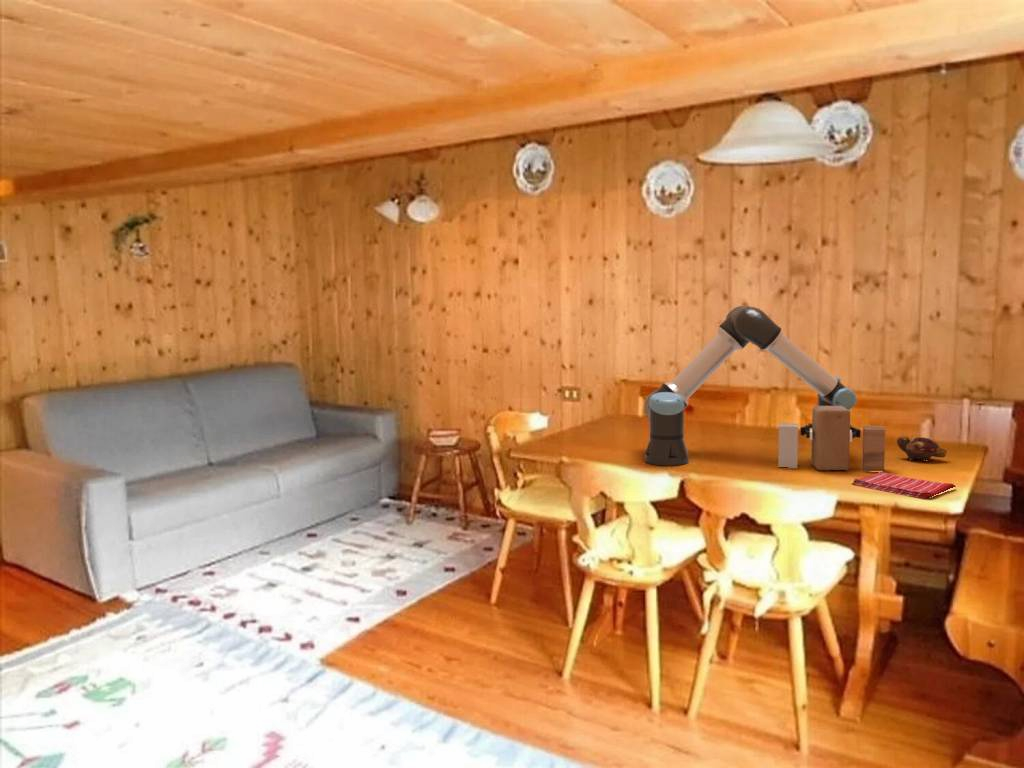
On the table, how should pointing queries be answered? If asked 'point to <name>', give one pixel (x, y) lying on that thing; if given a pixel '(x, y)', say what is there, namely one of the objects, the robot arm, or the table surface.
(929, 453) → the decorative turtle
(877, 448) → the walnut block
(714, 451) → the table surface
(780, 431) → the grey painted block
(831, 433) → the wooden block
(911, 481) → the dish towel
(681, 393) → the robot arm
